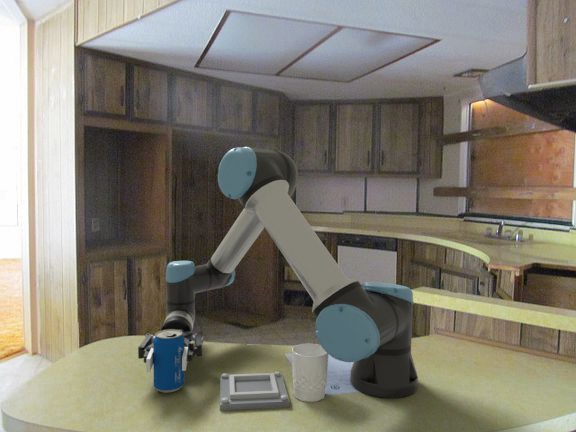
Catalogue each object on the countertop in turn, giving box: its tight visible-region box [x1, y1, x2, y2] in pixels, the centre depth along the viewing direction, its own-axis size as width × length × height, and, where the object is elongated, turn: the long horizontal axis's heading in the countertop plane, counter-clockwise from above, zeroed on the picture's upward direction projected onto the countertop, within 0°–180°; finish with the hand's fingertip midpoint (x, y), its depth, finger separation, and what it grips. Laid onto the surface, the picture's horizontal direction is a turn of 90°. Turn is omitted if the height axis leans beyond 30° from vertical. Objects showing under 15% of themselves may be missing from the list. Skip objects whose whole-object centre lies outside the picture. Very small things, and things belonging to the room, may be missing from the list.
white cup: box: [291, 342, 329, 403], centre depth 101 cm, size 8×8×10 cm
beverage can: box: [152, 329, 185, 394], centre depth 102 cm, size 6×6×12 cm
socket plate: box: [219, 371, 290, 411], centre depth 102 cm, size 14×14×2 cm
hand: (166, 364), depth 97 cm, fingers closed on beverage can, 6 cm apart
